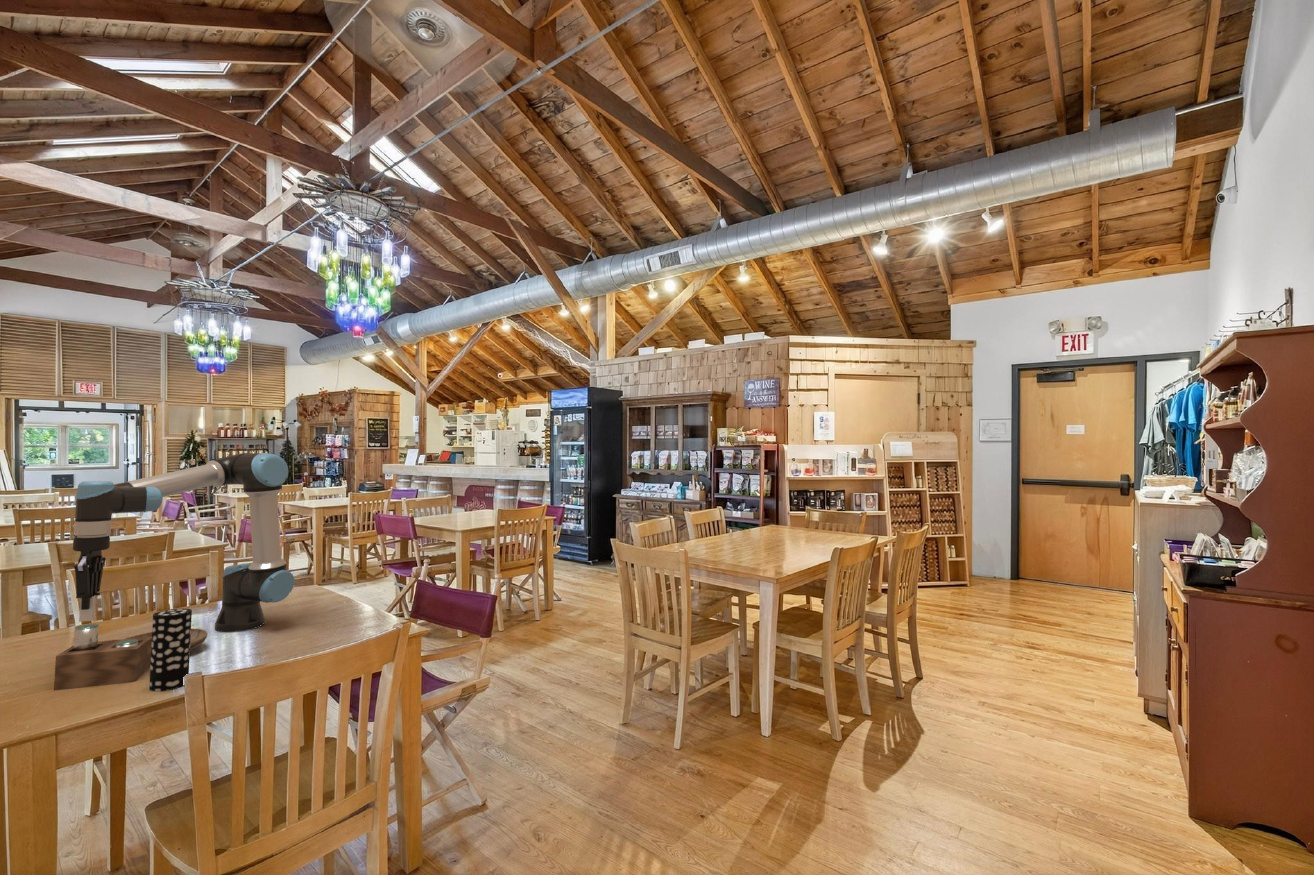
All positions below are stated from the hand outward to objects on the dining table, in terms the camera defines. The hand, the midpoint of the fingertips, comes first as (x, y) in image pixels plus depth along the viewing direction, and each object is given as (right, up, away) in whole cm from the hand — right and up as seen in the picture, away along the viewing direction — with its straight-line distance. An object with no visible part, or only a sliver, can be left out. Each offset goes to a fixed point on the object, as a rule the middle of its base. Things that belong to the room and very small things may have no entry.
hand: (86, 620), depth 165 cm
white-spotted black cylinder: (+26, -17, -3) cm, 31 cm away
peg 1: (0, -10, 0) cm, 10 cm away
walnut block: (+4, -17, +1) cm, 17 cm away
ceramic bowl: (+2, -18, +22) cm, 29 cm away
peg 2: (+8, -16, +3) cm, 18 cm away
